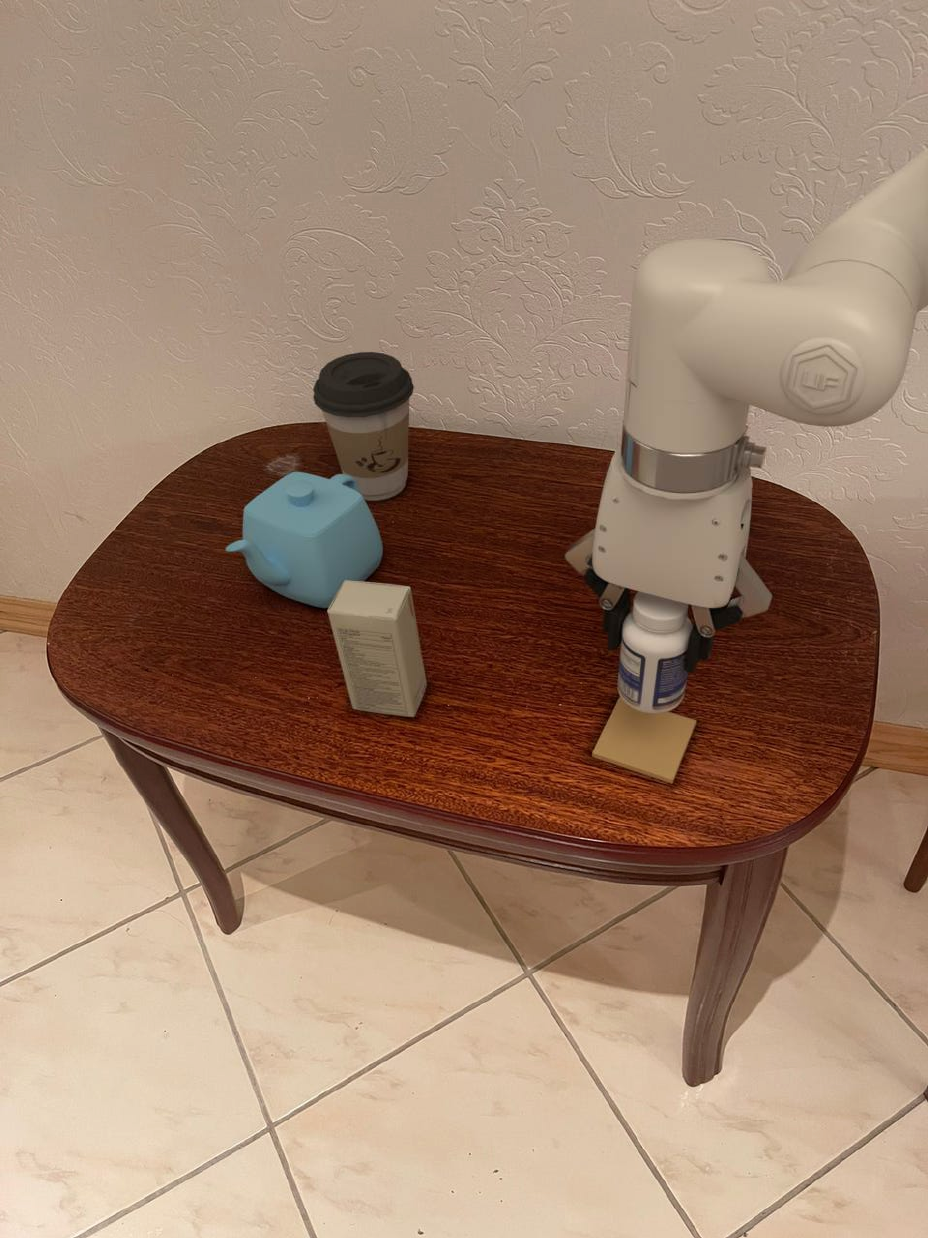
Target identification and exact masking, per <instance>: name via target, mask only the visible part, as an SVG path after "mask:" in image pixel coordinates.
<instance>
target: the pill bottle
mask: <svg viewBox="0 0 928 1238" xmlns="http://www.w3.org/2000/svg"><path fill="white" fill-rule="evenodd" d="M688 612H689V604H687V603H682V602H678V601H674V600H671V599H667V598H663V597H659V596H655V595H651V594H648V593H644V592H640V591H637V592H636V594H635V595H634V598H633V605H632V610H630V613H629V614H628V615H627V617H626V618H625V620H624V622H623V626H622V634H621V644H620V651H619V662H618V674H617V691H618V695H619V697H621V698H622V700H623V701H624V702H625V703H626V704H627V705H628V706H630V707H631V708H633V709H635V710H637V711H640V712H644V713H651V714H656V713H664V712H667V711H668V712H671V711H673V710H674V709H676V708H677V707H678V706H679V705H680V704H681V702H682V701H683V699H684V697H685V692H686V688H687V682H688V676H689V675H688V674H689V673H688V672H686V670H684V667H685V661H686V655H687V648H688V642H689V636H690V633H691V631H692V629H693V626H694V625H693V623H692V621H691V620H690V618H689V617H688V614H689V613H688Z"/></svg>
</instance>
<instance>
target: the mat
mask: <svg viewBox="0 0 928 1238" xmlns="http://www.w3.org/2000/svg"><path fill="white" fill-rule="evenodd" d="M696 726H697V720H696V719H694V718H690V717H687V716H683V715H680V714H677V713H673V712H671V711H667V712H664V713H656V714H651V713H644V712H640V711H637V710H635V709H633V708H631V707H630V706H628V705H627V704H626V703H625V702H624V701H623V700H622V698H621V697H620V696H619V698H618V699H617V701H616V703H615V705H614V707H613V709H612V712H611V714H610V716H609V718H608V719H607V722H606V724H605V726H604V728H603V730H602V732H601V734H600V736H599V738H598V740H597V742H596V743H595V745H594V748H593V750H592V753H591V757H592V758H594V759H597V760H600V761H604V762H606V763H609V764H611V765H615V766H618V767H621V768H623V769H627V770H629V771H633V772H636V773H639V774H642V775H645V776H647V777H650V778H653V779H656V780H660V781H662V782H665V783H668V784H672V785H673V783H674V781H675V778H676V776H677V773H678V771H679V769H680V766H681V763H682V761H683V758H684V756H685V753H686V751H687V749H688V746H689V743H690V740H691V739H692V736H693V734H694V730H695V729H696Z"/></svg>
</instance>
